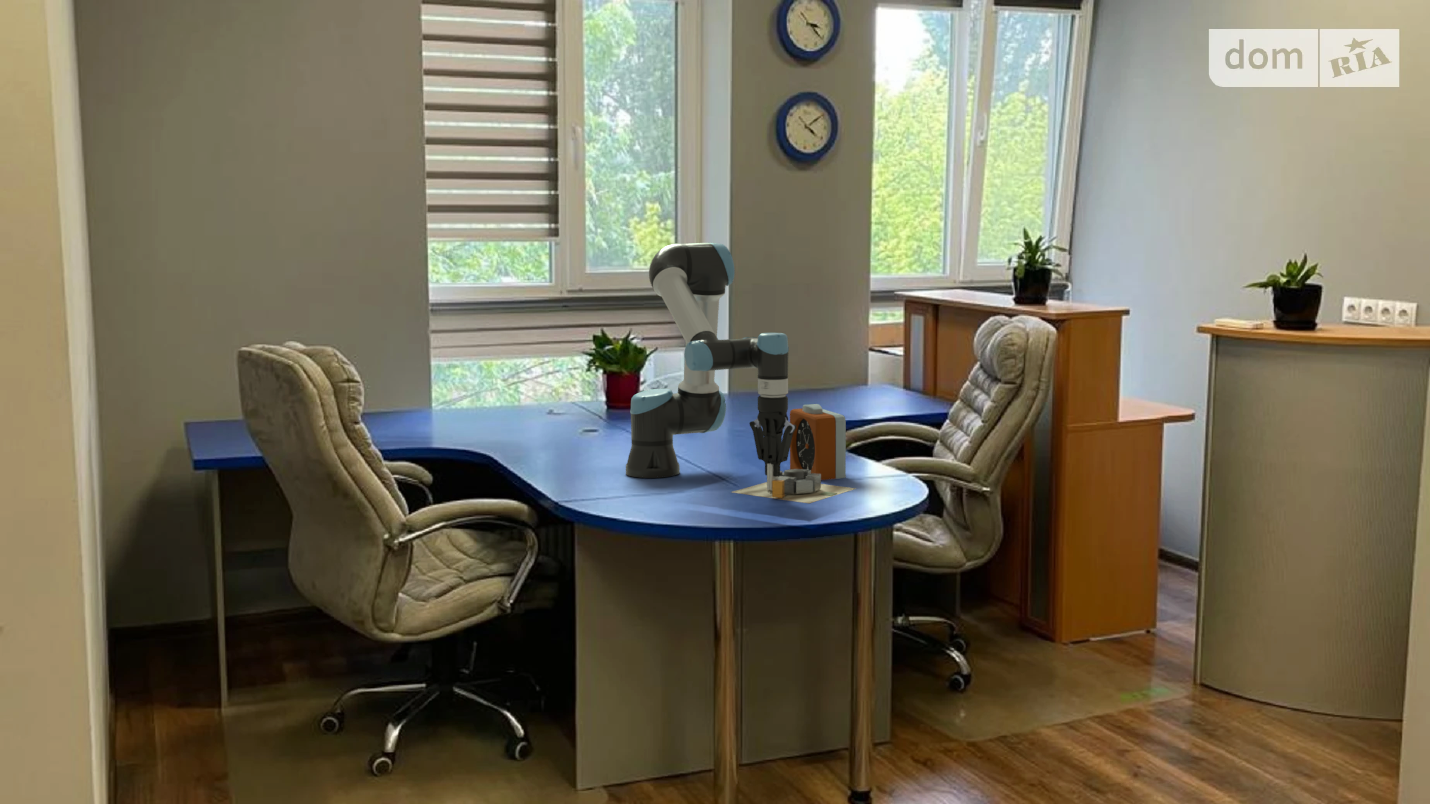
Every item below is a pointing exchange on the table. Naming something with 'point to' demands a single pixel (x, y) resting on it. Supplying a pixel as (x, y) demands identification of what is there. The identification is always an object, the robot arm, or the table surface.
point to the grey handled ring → (796, 484)
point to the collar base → (802, 497)
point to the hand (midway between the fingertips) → (772, 488)
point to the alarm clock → (818, 441)
